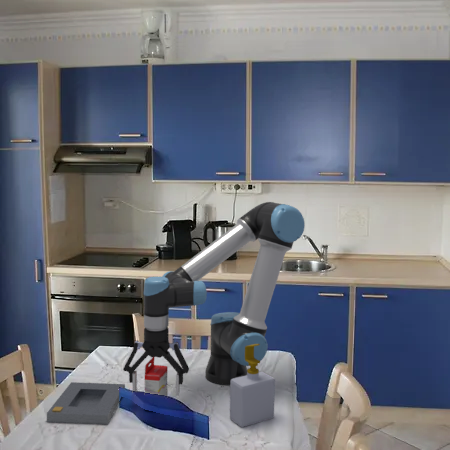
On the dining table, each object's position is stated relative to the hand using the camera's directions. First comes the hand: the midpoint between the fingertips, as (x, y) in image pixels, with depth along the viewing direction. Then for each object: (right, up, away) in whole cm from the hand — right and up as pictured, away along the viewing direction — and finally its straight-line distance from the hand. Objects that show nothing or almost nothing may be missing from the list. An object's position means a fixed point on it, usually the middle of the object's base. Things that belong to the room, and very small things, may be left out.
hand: (156, 393), depth 171 cm
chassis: (-21, -4, -1) cm, 22 cm away
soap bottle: (+30, -6, -7) cm, 31 cm away
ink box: (0, -4, +1) cm, 4 cm away
